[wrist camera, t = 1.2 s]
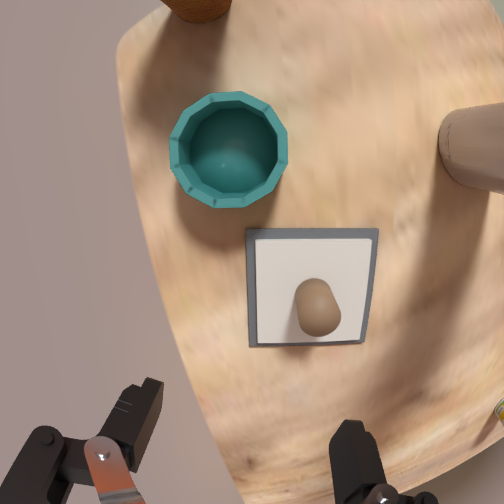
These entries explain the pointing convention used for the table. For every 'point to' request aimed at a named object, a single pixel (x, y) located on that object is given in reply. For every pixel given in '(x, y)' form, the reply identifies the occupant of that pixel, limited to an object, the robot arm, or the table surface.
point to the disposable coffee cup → (198, 9)
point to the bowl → (228, 149)
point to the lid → (311, 289)
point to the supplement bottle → (500, 411)
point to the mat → (305, 234)
